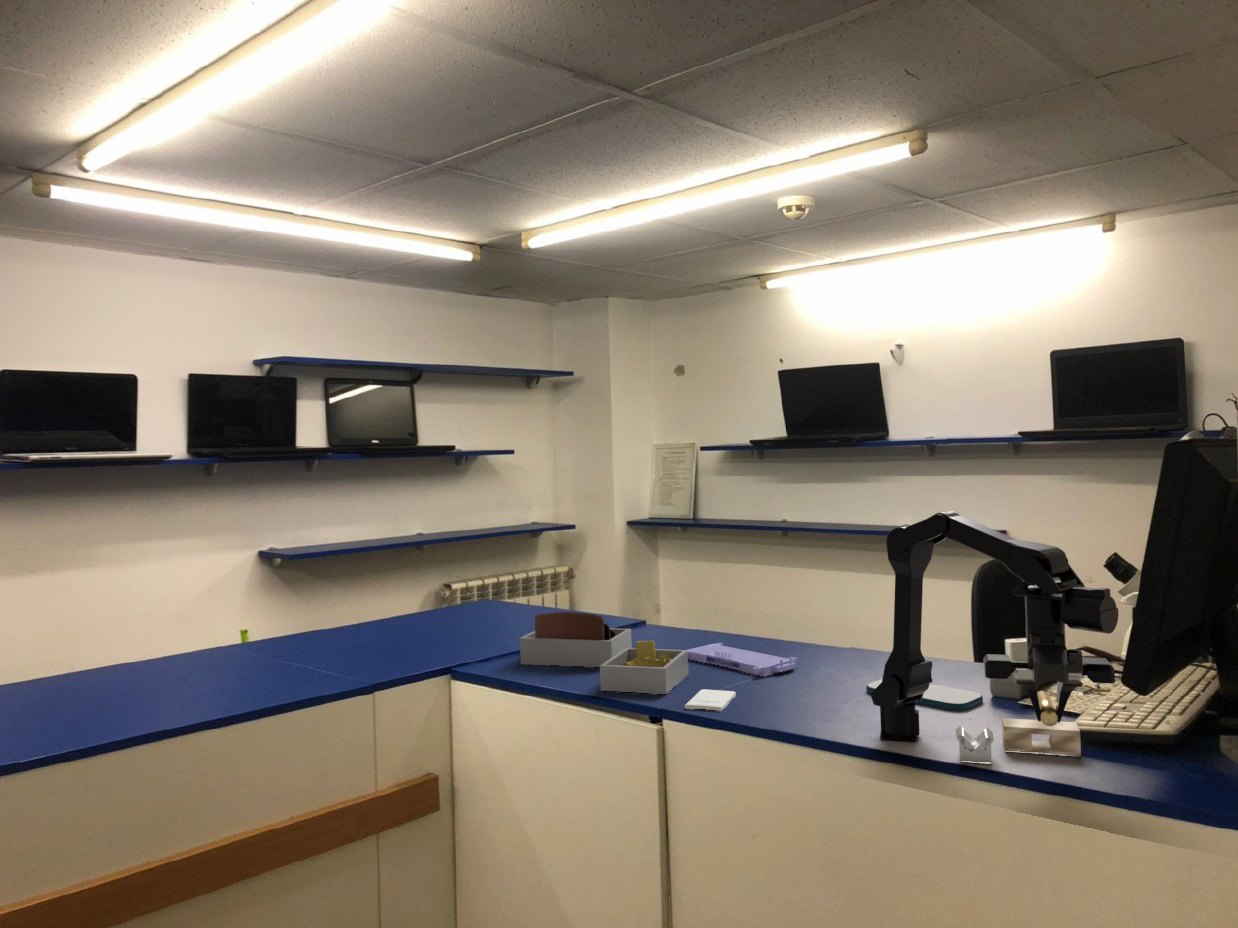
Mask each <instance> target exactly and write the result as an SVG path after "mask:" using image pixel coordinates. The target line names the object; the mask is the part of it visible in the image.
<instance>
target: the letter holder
mask: <svg viewBox="0 0 1238 928" xmlns="http://www.w3.org/2000/svg"><path fill="white" fill-rule="evenodd" d="M610 628H611V627H610V626H609V625H608V624H607V623H605V620H604V618H603V617H602V615H597V614H592V613H591V614H590V613H584V612H574V611H573V612H572V611H561V612H560V611H558V612H549V613H539V614H537V615H536V616H535V617H534V631H535V638H557V639H586V640H610V639H612V638H613V637H615V636H616V633H615V631H614V630H611V629H610Z"/></svg>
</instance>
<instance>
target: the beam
mask: <svg viewBox="0 0 1238 928" xmlns="http://www.w3.org/2000/svg"><path fill="white" fill-rule="evenodd" d="M1001 730H1002V732H1001V733H1002V745H1003V746H1004V747H1003V750H1005V751H1020V752H1039V753H1041V752H1042V753H1051V754H1065V755H1078V756H1081V757H1082V751H1081V750H1082V748H1081V730H1080V728H1079V726H1078V724H1077V722H1076V721H1075V722H1074V721H1062V720H1061V721H1060V723H1058V722H1057V723H1056V724H1055V725H1054V726H1047V725H1045V724H1044V723H1043V722H1042V720H1041V722H1040V721H1038V719H1027V718H1026V719H1025V718H1024V719H1023V718H1005V717H1002V718H1001ZM1033 735H1046V736H1048V741H1041V740H1040V741H1039V740H1038V741H1037V740H1033V738H1032V737H1033ZM1005 751H1004V752H1005Z"/></svg>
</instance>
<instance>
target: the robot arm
mask: <svg viewBox="0 0 1238 928" xmlns="http://www.w3.org/2000/svg"><path fill="white" fill-rule="evenodd" d="M947 538H948V539H950V540H952V541H954V542H956V543H958V544H961V545H963V546H965V547H968V548H970V549H972V550H974V551H977V552H979V553H981V554H983V555H986V556H988V557H990V558H992V559H994V560H996V561H998V562H1000V563H1002V564H1003V565H1004V566H1005V567H1006V568H1007V570H1008V571H1009V572H1010V573H1011V574H1013V575H1015V576H1016V577H1017V578H1019V579H1020V580H1022V581H1021V582H1020V583H1019V585H1017V586H1016V587H1015V588H1014V589H1013V590H1012V591H1011V596H1017V597H1024V609H1025V633H1026V634H1025V638H1026V639H1025V640H1026V661H1024V660H1011V658H1010V655H1009V654H990V653H988V654H986V655H985V656H984V657H983V672H984V677H985V678H987V679H993V680H994V679H997V680H1001V679H1002V680H1008V678H1009V677H1010V676H1012V673H1013V679H1014V682H1015V684H1016V685H1022V686H1023V688H1024V690H1025V691H1026V693H1027V695H1028V697H1029V699H1030V702H1031V706H1032V707H1033V710H1034V713H1035V716H1036V720H1038V721H1040V722H1041V711H1040V705H1039V700H1038V694H1037V692H1038V688H1037V687H1038V686H1037V682H1036V681H1039V682H1042V683H1043V682H1045V683H1046V682H1048V681H1049V682H1057V683H1056V684H1057V685H1056V687H1057V688H1056V701H1055V712H1056V714H1057V717H1058V723H1060V721H1061V722H1062V718H1063V715H1064V711H1065V708H1066V707H1067V706H1066V705H1067V702H1068V700H1069V698H1070V697H1071V694H1072V693H1073V691H1074V690H1075V689H1076V688H1082V687H1083V682H1082V678H1083V676H1086V677H1087V678H1088V680H1090V681H1091V682H1092V683H1094V684H1115V683H1116V671H1115V668H1114V666H1113V664H1112V663H1110V661H1109V660H1108V659H1106V658H1105V657H1083V653H1082V649H1075V648H1071V649H1069V648H1068V649H1067V645H1066V626H1067V627H1068V628H1069V629H1071V630H1078V631H1079V630H1080V631H1084V632H1085V631H1087V632H1093V633H1101V634H1108V635H1109V634H1112V633H1113V632H1115V629H1116V627H1117V625H1118V622H1119V608H1118V607H1117V604H1116V603H1117V602H1116V601H1115V600H1114V599H1115V598H1113V596H1111V588H1109V587H1099V588H1098V587H1097V588H1093V587H1086V586H1085V584H1084V582H1083V581H1082V580H1081V579H1080V577H1079V576H1078V574H1077V573H1076V572H1075V571H1074V569H1073V568H1072V567H1071V565H1070V564H1069V559H1068V557H1067V554H1066V552H1064V550H1063V549H1061V548H1059V547H1057V546H1056V545H1055V546H1054V545H1050V544H1045V543H1040V542H1036V541H1027V540H1022V539H1017V538H1014V537H1011V536H1010V535H1007V534H1004V533H1002V532H1000V531H997V530H995V529H993V528H990V527H988V526H986V525H984V524H980V523H978V522H976V521H973V520H971V519H969V518H966V517H964V516H961V514H959V513H958V512H956V511H952V510H950V511H943V512H936V513H934V514H933V515H931V516H930V517H927V518H925V519H923V520H921V521H918V522H916V523H913V524H910V525H905V526H899V527H894V528H893V529H891V530H890V531H889V532H888V534H887V535H886V539H885V545H886V554H887V560H888V561H889V565H890V566H891V568H892V570H893V572H894V600H893V601H894V605H893V606H894V608H893V636H892V638H893V639H892V640H893V641H892V645H893V646H892V650H891V652H890V654H889V656H888V658H887V659H886V661H885V664H884V668H883V674H882V677H881V679H882V683H881V684H880V685H879V686H878V687H877V688H876V689H875V690H874V691H873V692H872V693H871V694H870V697H871V700H872V704H873V706H878V707H879V715H880V716H879V718H880V734H879V739H880V740H889V741H891V740H892V741H904V742H905V741H906V742H917V741H918V737H919V736H920V732H921V731H920V730H921V729H920V711H919V709H916V704H915V702H917V701H921V700H922V697H923V694H924V692H925V691H926V690H928V688H929V684H932V683H933V680H934V679H933V678H932V670H933V661H932V660H926V658H925V657H924V655H923V652H922V650H921V648H922V647H921V646H922V621H923V620H922V618H923V617H922V616H923V590H924V587H923V584H924V583H923V582H924V575H925V572H926V570H927V568H928V566H929V564H930V562H931V560H932V556H933V552H934V548H935V547H934V546H935V545H937V544H939V543H941V542H943V541H945V540H946V539H947Z"/></svg>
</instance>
